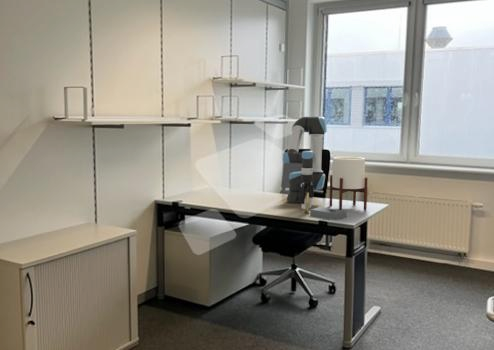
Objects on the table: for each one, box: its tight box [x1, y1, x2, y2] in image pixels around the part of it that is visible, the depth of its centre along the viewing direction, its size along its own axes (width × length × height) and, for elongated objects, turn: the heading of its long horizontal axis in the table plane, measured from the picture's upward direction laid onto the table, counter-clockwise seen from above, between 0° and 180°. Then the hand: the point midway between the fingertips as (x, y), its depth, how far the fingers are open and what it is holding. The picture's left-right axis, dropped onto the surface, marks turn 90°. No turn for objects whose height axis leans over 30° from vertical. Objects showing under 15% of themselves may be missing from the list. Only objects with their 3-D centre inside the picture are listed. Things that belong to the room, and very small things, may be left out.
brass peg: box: [303, 191, 310, 214], centre depth 329 cm, size 3×3×14 cm
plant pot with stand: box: [329, 156, 368, 211], centre depth 346 cm, size 22×22×36 cm
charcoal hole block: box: [309, 206, 348, 220], centre depth 318 cm, size 20×12×4 cm, turn 50°
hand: (306, 207), depth 329 cm, fingers open, 6 cm apart
